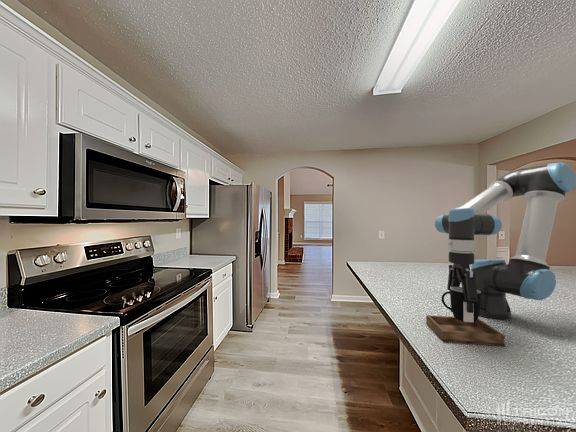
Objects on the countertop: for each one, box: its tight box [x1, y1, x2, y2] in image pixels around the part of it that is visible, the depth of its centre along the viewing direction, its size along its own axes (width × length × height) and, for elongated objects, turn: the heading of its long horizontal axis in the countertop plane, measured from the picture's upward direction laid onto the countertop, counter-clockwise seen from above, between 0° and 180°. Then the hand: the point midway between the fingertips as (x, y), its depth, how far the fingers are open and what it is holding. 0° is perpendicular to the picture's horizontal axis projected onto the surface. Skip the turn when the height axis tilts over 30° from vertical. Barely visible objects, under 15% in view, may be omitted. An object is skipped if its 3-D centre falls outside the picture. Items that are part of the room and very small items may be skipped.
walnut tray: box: [426, 315, 506, 347], centre depth 91 cm, size 18×15×3 cm
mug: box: [441, 286, 481, 322], centre depth 92 cm, size 12×9×10 cm
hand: (461, 316), depth 91 cm, fingers closed on mug, 9 cm apart
